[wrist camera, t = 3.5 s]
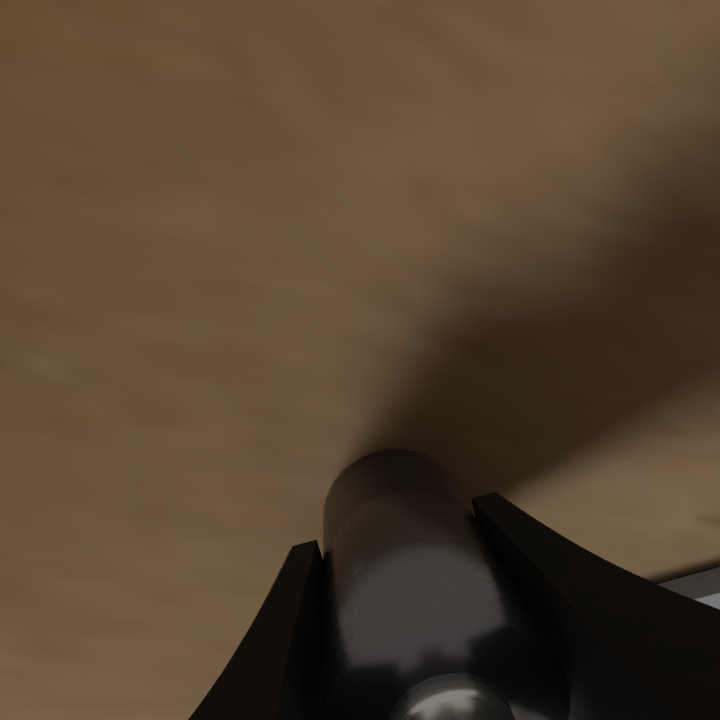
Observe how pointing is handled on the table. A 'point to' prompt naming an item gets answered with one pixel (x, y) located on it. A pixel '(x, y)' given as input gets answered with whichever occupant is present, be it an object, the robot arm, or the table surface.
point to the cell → (424, 606)
